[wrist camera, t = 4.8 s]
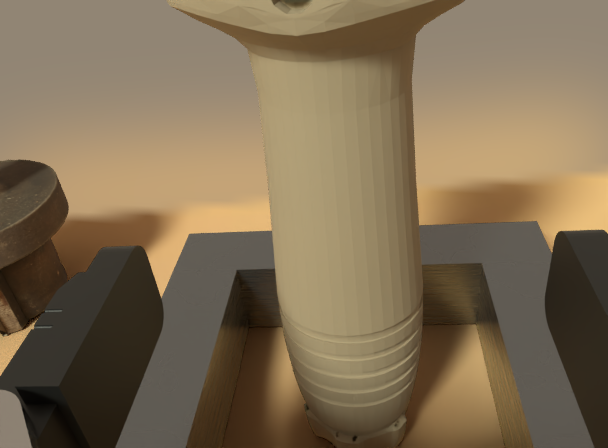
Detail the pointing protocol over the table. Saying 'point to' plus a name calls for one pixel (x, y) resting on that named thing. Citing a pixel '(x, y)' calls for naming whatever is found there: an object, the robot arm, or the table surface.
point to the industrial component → (28, 241)
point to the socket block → (436, 310)
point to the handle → (340, 198)
